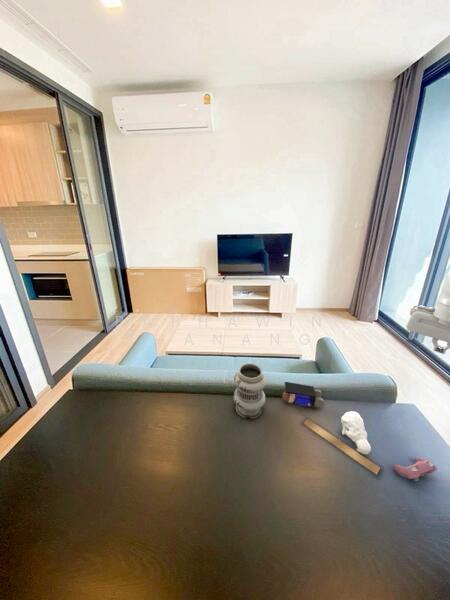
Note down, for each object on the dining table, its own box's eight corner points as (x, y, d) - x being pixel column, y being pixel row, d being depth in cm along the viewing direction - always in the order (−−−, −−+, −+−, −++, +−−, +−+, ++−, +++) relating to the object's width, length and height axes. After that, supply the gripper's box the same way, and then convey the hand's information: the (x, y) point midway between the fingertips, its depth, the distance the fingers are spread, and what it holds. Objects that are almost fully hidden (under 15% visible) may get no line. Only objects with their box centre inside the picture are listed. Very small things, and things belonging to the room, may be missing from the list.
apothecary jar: (233, 420, 89) (233, 380, 82) (233, 396, 100) (234, 359, 94) (266, 421, 89) (269, 381, 82) (262, 397, 100) (265, 360, 93)
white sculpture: (359, 407, 83) (382, 441, 73) (353, 424, 87) (374, 458, 76) (342, 408, 83) (362, 442, 72) (336, 425, 87) (355, 460, 76)
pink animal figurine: (401, 484, 70) (418, 481, 65) (390, 466, 73) (405, 461, 68) (427, 475, 72) (445, 471, 67) (415, 457, 75) (432, 452, 70)
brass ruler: (380, 468, 73) (380, 467, 73) (376, 475, 71) (376, 474, 71) (307, 419, 90) (307, 419, 89) (303, 424, 88) (303, 423, 88)
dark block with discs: (318, 402, 100) (281, 393, 101) (323, 387, 97) (285, 379, 99) (321, 414, 93) (281, 406, 95) (326, 399, 91) (286, 390, 92)
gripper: (409, 305, 80) (399, 342, 85) (500, 327, 66) (481, 370, 71) (414, 301, 84) (404, 336, 89) (501, 320, 70) (483, 361, 74)
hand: (439, 351), depth 79 cm, fingers closed
